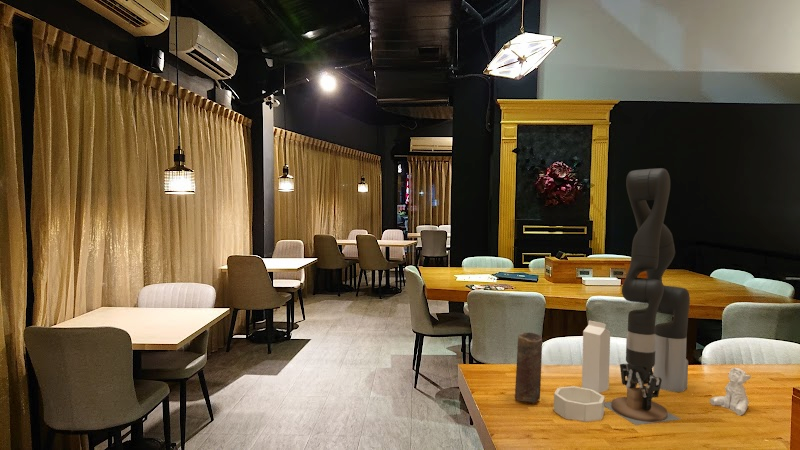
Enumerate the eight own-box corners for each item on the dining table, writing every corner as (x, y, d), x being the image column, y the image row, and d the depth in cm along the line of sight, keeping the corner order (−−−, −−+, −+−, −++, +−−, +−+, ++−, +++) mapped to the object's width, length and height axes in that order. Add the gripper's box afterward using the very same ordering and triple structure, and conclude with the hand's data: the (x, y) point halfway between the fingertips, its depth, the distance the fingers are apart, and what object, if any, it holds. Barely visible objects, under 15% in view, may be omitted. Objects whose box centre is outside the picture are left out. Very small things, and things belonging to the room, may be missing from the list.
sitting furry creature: (708, 404, 146) (709, 364, 146) (726, 399, 150) (728, 361, 149) (740, 416, 138) (742, 374, 137) (759, 411, 141) (761, 371, 141)
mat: (641, 399, 149) (641, 398, 149) (681, 420, 135) (681, 419, 135) (599, 404, 145) (599, 402, 145) (635, 426, 131) (635, 424, 131)
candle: (541, 397, 149) (543, 333, 149) (540, 407, 143) (541, 339, 142) (516, 394, 152) (517, 331, 151) (513, 403, 145) (515, 337, 144)
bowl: (584, 401, 147) (584, 385, 147) (613, 419, 135) (613, 401, 134) (546, 405, 144) (546, 388, 144) (572, 424, 131) (573, 406, 131)
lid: (640, 398, 149) (641, 378, 148) (679, 418, 135) (680, 396, 135) (600, 403, 145) (601, 382, 145) (636, 424, 131) (636, 401, 131)
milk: (598, 394, 153) (600, 325, 152) (581, 388, 158) (583, 321, 157) (609, 390, 156) (611, 322, 155) (591, 384, 161) (593, 318, 160)
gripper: (671, 354, 133) (669, 415, 134) (633, 339, 147) (631, 395, 148) (648, 355, 131) (646, 417, 132) (612, 341, 145) (610, 397, 146)
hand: (638, 405), depth 140 cm, fingers open, 5 cm apart
